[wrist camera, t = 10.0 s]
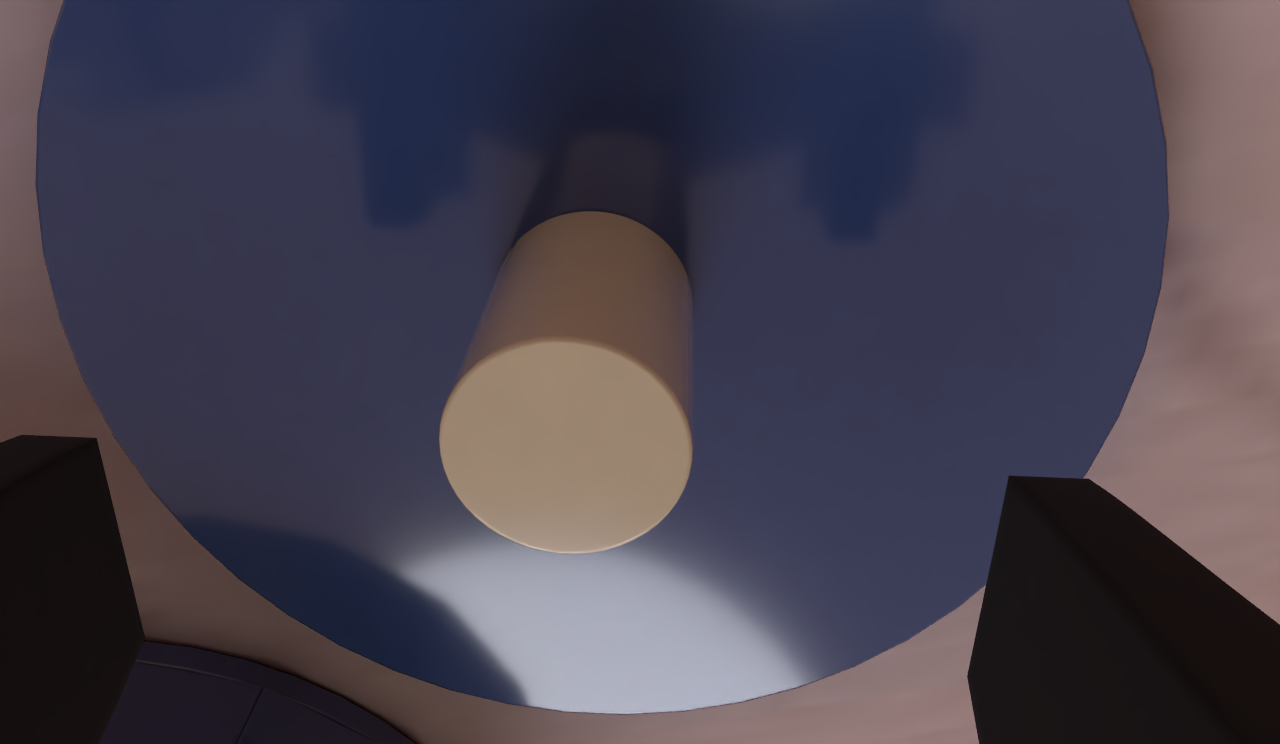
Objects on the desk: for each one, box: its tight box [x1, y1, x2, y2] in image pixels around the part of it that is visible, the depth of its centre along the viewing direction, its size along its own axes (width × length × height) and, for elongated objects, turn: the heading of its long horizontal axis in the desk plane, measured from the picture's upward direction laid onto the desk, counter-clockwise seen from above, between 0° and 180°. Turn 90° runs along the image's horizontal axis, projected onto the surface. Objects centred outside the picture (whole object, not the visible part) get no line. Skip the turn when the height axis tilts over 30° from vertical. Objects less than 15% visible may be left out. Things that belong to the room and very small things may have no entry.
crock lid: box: [36, 0, 1169, 715], centre depth 12 cm, size 13×13×4 cm
